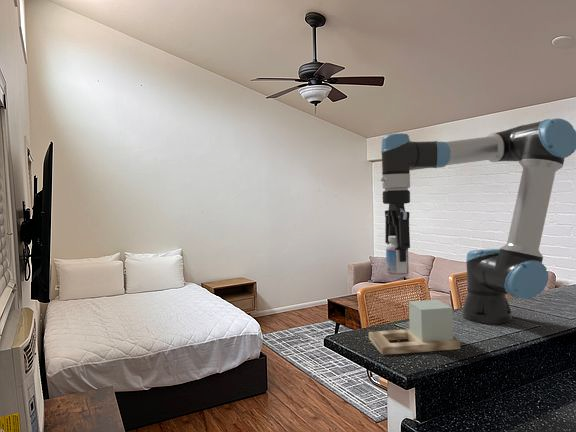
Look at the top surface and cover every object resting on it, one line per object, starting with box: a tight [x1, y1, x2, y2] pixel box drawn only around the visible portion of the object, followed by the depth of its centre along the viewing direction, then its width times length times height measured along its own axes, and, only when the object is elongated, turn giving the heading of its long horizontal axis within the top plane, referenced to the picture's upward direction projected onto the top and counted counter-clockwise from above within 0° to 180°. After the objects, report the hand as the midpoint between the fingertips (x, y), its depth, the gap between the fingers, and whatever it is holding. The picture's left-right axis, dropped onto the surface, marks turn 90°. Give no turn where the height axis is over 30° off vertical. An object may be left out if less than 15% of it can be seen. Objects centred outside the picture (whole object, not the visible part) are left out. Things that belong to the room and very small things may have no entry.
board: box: [368, 328, 461, 356], centre depth 120 cm, size 22×13×2 cm, turn 95°
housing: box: [408, 299, 454, 342], centre depth 120 cm, size 9×9×9 cm
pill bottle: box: [385, 236, 410, 278], centre depth 119 cm, size 6×6×11 cm
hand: (397, 270), depth 119 cm, fingers closed on pill bottle, 6 cm apart
